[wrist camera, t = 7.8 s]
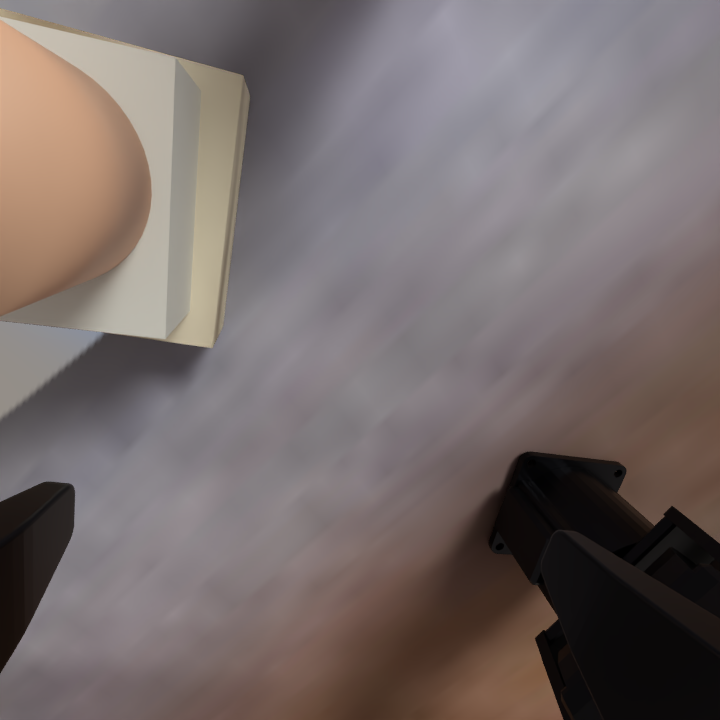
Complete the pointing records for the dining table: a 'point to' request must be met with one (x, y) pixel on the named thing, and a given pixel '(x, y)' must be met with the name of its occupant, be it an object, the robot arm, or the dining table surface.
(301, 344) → the dining table surface
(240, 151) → the birch base block
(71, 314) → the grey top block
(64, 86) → the tan rounded block
